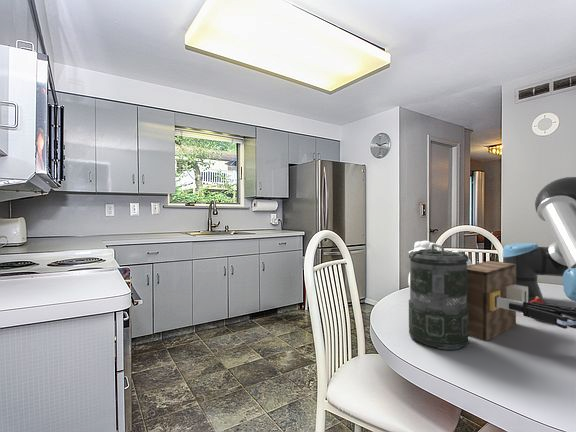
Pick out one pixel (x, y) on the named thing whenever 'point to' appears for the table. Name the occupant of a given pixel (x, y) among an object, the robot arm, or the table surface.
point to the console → (488, 298)
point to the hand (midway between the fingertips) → (497, 302)
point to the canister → (438, 298)
